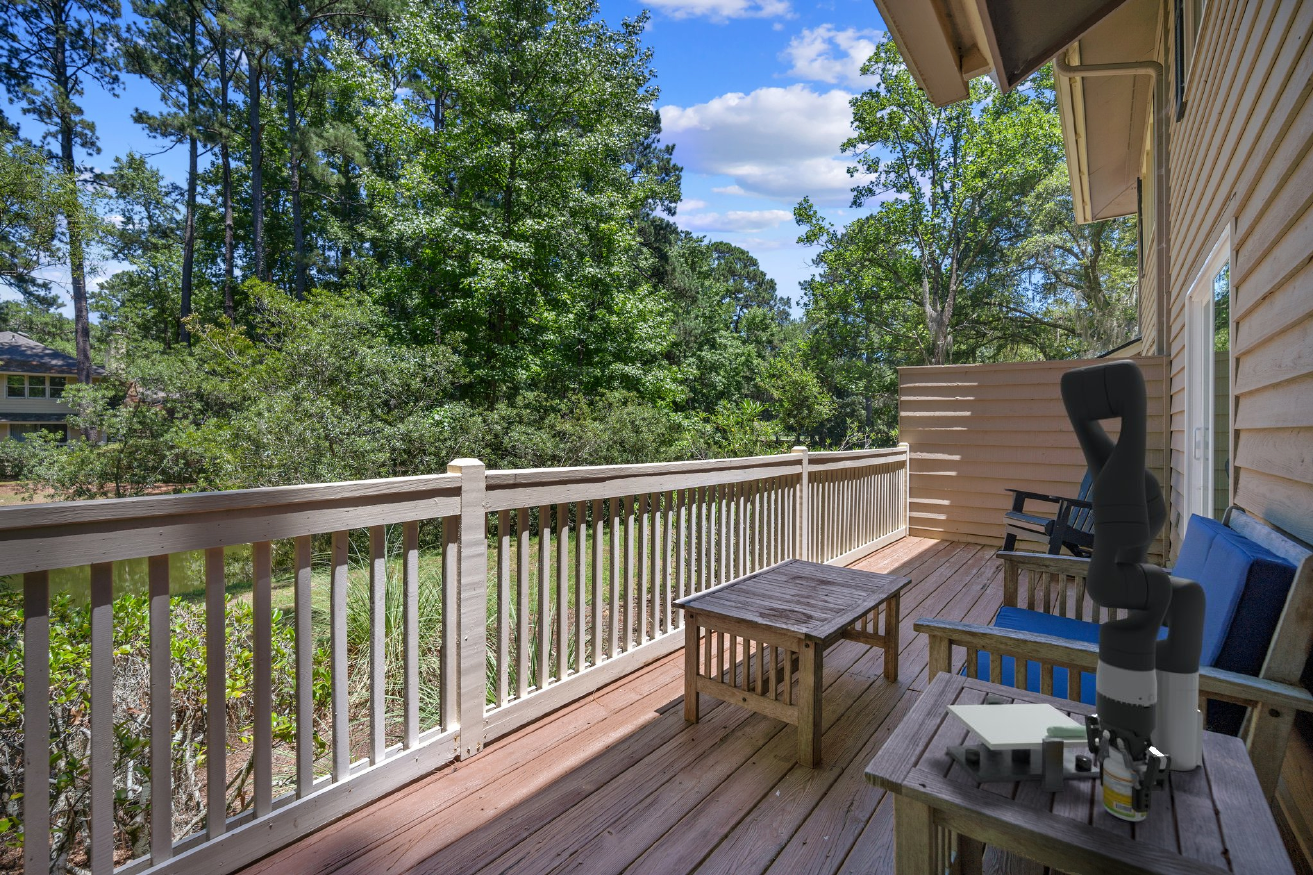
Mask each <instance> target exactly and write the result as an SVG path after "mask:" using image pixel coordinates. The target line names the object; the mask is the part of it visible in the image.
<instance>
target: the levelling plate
mask: <svg viewBox="0 0 1313 875" xmlns="http://www.w3.org/2000/svg"><path fill="white" fill-rule="evenodd" d="M946 712H947V713H949V714H950V715H951V716H952V717H953V718H954V719H955V720H957V721H958V722H959V723H960V725H962V726H963V727H965V728H966V729H967V730H968V731H969V732H970V733H971V734H972V735H974V737H976V738H977V739H978V740H979V741H980V742H982V743H983V745H986V746H988V747H989V748H990V749H991V750H1001V749H1042V738H1061V739H1062V740H1063V741H1064V748H1069V749H1072V748H1073V749H1078V748H1081V749H1082V748H1083V749H1084V748H1088V741H1087V733H1086V725H1081V724H1080V723H1078V722H1077V721H1075V719H1074V720H1073V719H1072V718H1071V717H1069V716H1068V715H1066V714H1065V713H1063V712H1062V711H1060V710H1058V709H1056V707H1053V706H1052V705H1050V704H1049V703H1017V704H1016V703H1015V704H1014V703H1013V704H1012V703H1011V704H1009V703H1008V704H1007V703H1006V704H1005V703H1004V705H985V704H966V705H965V704H961V705H960V704H959V705H958V704H957V705H956V704H955V705H946ZM1095 742H1096V745H1099V739H1098V738H1096V739H1095Z"/></svg>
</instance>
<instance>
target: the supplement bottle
mask: <svg viewBox="0 0 1313 875" xmlns="http://www.w3.org/2000/svg"><path fill="white" fill-rule="evenodd" d="M1109 756H1110V757H1108V758H1106V759H1105V760H1104V764H1103V787H1102V805H1103V807H1104V809H1105V810H1106V811H1107V812H1109V814H1111V815H1113V816H1114V817H1117V818H1119V819H1123V820H1125V821H1129V822H1140V821H1143V820H1145V819H1146V817H1147V812H1143V813H1137V812H1136V811H1134V810H1133V809H1132V786H1134V785H1133V782H1132V778H1131V775H1130V772H1129V771H1128V770H1126V768H1125V764H1124V760H1123V757H1122V753H1121V752H1120V751H1118V750H1117V749H1115V748H1114V747H1112V746H1109ZM1141 763H1142V761H1136V762H1133V764H1134V765H1140V764H1141ZM1139 775H1140V779H1141V780H1142V779H1144V777H1143V774H1142V771H1140V772H1139Z"/></svg>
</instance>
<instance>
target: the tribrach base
mask: <svg viewBox="0 0 1313 875" xmlns="http://www.w3.org/2000/svg"><path fill="white" fill-rule="evenodd" d="M984 701H985V702H984V703H985V704H984V705H1004V704H1005V702H1004V701H1005V698H1004V697H1003V696H1002V695H985V699H984ZM946 753H948V755H949V756H950V757H952V759H953V760H955V761H956V762H957V764H958V765H959V766H961V767H962V768H963V769H964V771H966V772H967V774H969V776H971V778H972V779H973V780H975V781H976V783H995V782H996V783H998V782H1019V781H1038V780H1039V781H1041V786H1040V787H1041V790H1042V791H1043V792H1044V793H1057V792H1059V793H1060V792H1064V780H1065V779H1066V780H1067V779H1068V780H1069V779H1088V778H1099V773H1100V769H1099V768H1097V767H1096V766H1094V765H1093V759H1092V758H1090V757H1089V756H1086V755H1083V754H1078V753H1077V752H1075V751H1074V750H1072V748H1064V741H1063V740H1062V739H1061V738H1042V749H1001V750H991V749H990V748H989V747H988V746H986V745H985V744H968V745H965V744H964V745H947V746H946Z"/></svg>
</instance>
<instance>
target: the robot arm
mask: <svg viewBox="0 0 1313 875" xmlns="http://www.w3.org/2000/svg"><path fill="white" fill-rule="evenodd" d="M1059 385H1060V393H1061V398H1062V402H1063V406H1064V409H1065V411H1066V413H1067V417H1068V418H1069V421H1070V423H1071V426H1072V428H1073V432H1074V433H1075V436H1076V438H1077V441H1078V443H1079V445H1080V448H1081V450H1082V453H1083V456H1084V458H1085V461H1086V465H1087V468H1088V472H1089V475H1090V478H1091V482H1092V486H1093V488H1092V492H1091V508H1092V518H1093V529H1094V530H1093V532H1094V537H1093V546H1092V552H1091V557H1090V561H1089V564H1088V565H1089V566H1088V569H1087V571H1086V578H1085V589H1086V592H1087V595H1088V597H1089V599H1091V600H1092V602H1093V603H1094V604H1096V605H1097V606H1099V607H1102V608H1106V609H1107V608H1108V609H1118V610H1119V609H1121V610H1127V612H1128V613H1129V616H1127V617H1126V618H1121V619H1115V620H1108V621H1105V622H1103V623H1102V624H1100V626H1099V632H1098V663H1097V668H1096V681H1095V684H1096V685H1095V686H1096V688H1095V689H1096V690H1095V694H1096V695H1095V713H1096V714H1084V724H1085V725H1084V726H1086V733H1087V741H1088V747H1087V748H1088V752H1090V754H1093V755H1095V756H1096V759H1097V762H1098V763H1099V770H1100V773H1099V777H1098V778H1099V782H1100V786H1101V787H1102V788H1103V764H1104V760H1105V759H1106V758H1108V757H1110V756H1109V746H1112V747H1114V748H1115V749H1117V750H1118V751H1120V752H1121V753H1122V757H1123V760H1124V764H1125V768H1126V770H1128V771H1129V772H1130V775H1131V778H1132V782H1133V785H1134V786H1132V809H1133V810H1134V811H1136V812H1137V813H1143V812H1146V813H1148V812H1149V811H1150V810H1151V808H1152V802H1151V801H1152V792H1165V791H1166V788H1167V784H1168V779H1169V775H1170V771H1171V770H1173V771H1180V772H1183V771H1185V772H1186V771H1187V772H1188V771H1193V770H1195V769H1196V768H1197V766H1202V764H1203V762H1202V761H1203V731H1204V730H1203V728H1204V727H1203V726H1204V713H1203V712H1202V710H1200V709H1199V684H1200V683H1199V681H1200V679H1199V678H1200V676H1199V675H1200V671H1199V670H1200V660H1201V658H1202V657H1201V655H1202V652H1203V642H1204V641H1203V640H1204V630H1205V620H1206V619H1205V618H1206V607H1207V601H1206V600H1207V599H1206V598H1207V597H1206V594H1205V591H1204V588H1203V586H1201V583H1199V582H1197V581H1196V580H1193V579H1189V578H1184V577H1180V576H1179V577H1178V576H1173V575H1169V574H1168V573H1167V572H1166V571H1165V570H1164V569H1163V568H1162V567H1160V566H1159V565H1157V564H1155V563H1154V564H1153V563H1150V562H1149V557H1148V552H1149V549H1150V547H1151V545H1152V544H1153V542H1155V539H1156V538H1157V537H1158V536H1159V534H1160V532H1161V531H1162V529H1163V527H1164V525H1165V523H1166V521H1167V516H1168V513H1167V506H1166V502H1165V499H1164V495H1163V491H1162V488H1161V485H1160V481H1159V480H1158V478H1157V476H1156V475H1155V474H1154V473H1153V472H1152V471H1151V469H1149V468H1148V467H1147V466H1146V456H1147V455H1146V454H1147V453H1146V452H1147V421H1148V419H1147V418H1148V417H1147V416H1148V415H1147V414H1148V405H1147V404H1148V400H1147V398H1148V395H1147V386H1146V382H1145V377H1144V375H1143V372H1142V370H1141V368H1140V366H1139V365H1138V364H1137V363H1136V361H1134V360H1132V359H1120V360H1114V361H1113V360H1112V361H1109V362H1104V363H1099V364H1094V365H1088V366H1082V367H1077V368H1074V369H1073V368H1072V369H1069V370H1067V371H1065V372H1064V373H1063V374H1062V375H1061V378H1060V384H1059ZM1118 418H1121V419H1120V420H1121V423H1120V425H1121V426H1120V432H1119V435H1118V439H1117V442H1115V441H1114V440H1113V439H1112V438H1111V437H1110V436H1109V435H1108V433H1107V431H1106V430H1105V429H1104V428H1103V426H1102V424H1101V422H1100V421H1103V420H1104V421H1105V420H1110V419H1118ZM1161 627H1162V628H1163V627H1164V628H1168V631H1167V635H1166V638H1165V639H1164V638H1163V639H1158V635H1159V633H1160V630H1161ZM1096 738H1098V739H1099V745H1096V742H1095V739H1096ZM1136 761H1141V764H1140V765H1134V764H1133V762H1136ZM1140 771H1142V774H1143V777H1144V779H1142V780H1141V779H1140V775H1139V772H1140Z"/></svg>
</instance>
